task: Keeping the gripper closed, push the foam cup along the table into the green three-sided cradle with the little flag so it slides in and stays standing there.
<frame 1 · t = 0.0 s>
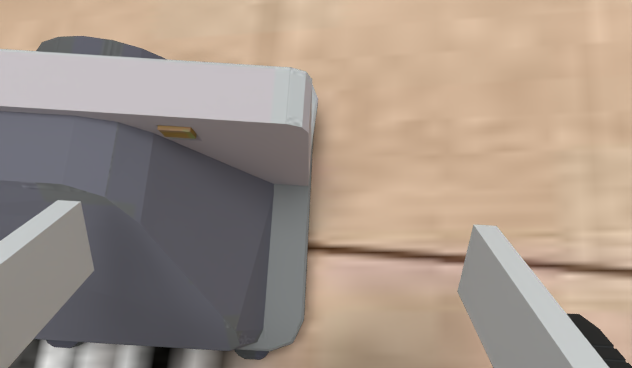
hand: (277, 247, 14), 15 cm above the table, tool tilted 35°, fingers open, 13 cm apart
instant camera: (180, 211, 30), on the table
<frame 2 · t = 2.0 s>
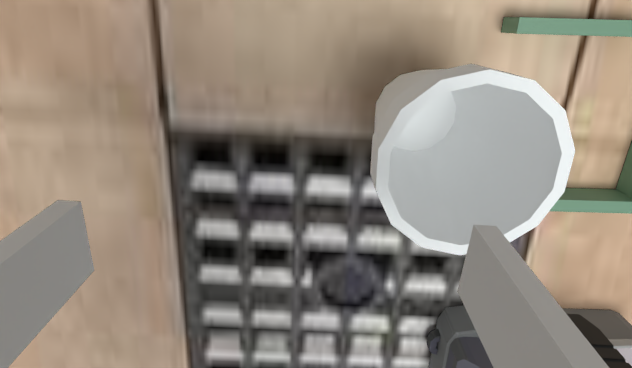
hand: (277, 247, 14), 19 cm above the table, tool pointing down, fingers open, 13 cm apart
foam cup: (414, 111, 32), on the table
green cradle: (568, 116, 31), on the table
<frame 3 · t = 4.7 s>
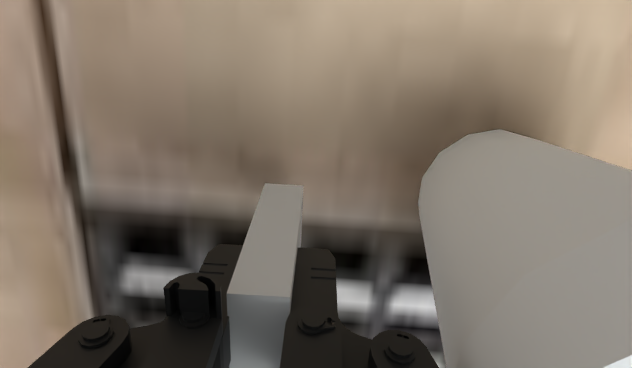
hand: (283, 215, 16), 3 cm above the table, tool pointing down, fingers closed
foam cup: (483, 192, 19), on the table
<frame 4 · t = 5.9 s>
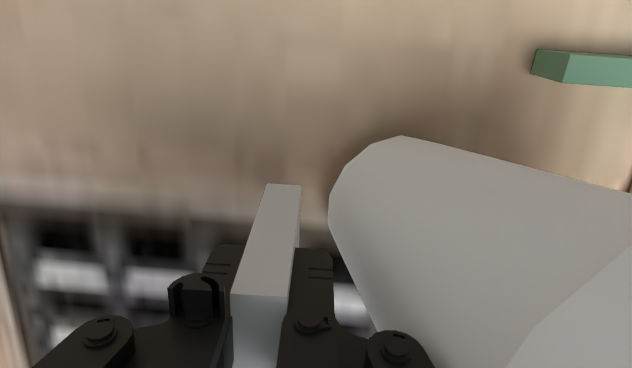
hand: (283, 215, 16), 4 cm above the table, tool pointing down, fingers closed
foam cup: (389, 201, 18), point 1 cm above the table, touching gripper, hand
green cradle: (630, 211, 19), on the table
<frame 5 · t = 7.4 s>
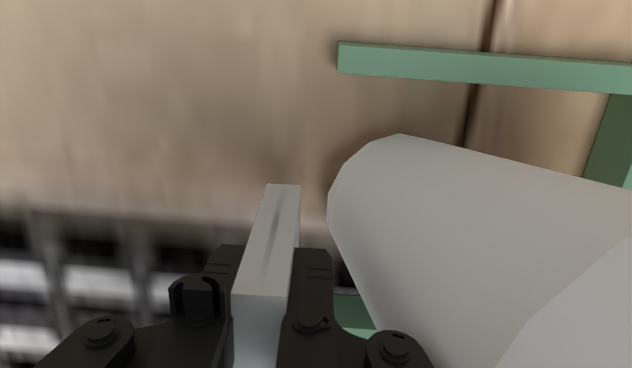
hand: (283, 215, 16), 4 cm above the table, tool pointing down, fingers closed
foam cup: (388, 198, 19), point 1 cm above the table, touching gripper, hand
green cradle: (458, 202, 20), on the table
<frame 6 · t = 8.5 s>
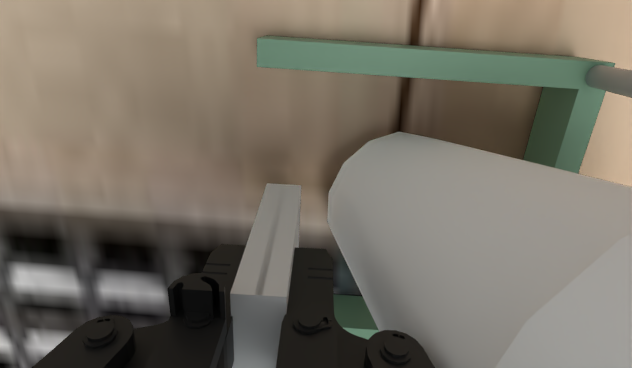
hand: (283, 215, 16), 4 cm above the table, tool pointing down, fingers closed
foam cup: (389, 197, 19), point 1 cm above the table, touching gripper, hand
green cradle: (397, 197, 20), on the table
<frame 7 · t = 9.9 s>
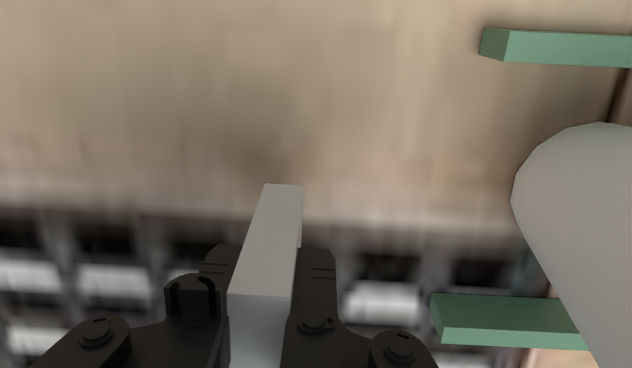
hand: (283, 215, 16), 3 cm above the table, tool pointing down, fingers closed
foam cup: (577, 186, 19), on the table
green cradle: (591, 195, 19), on the table
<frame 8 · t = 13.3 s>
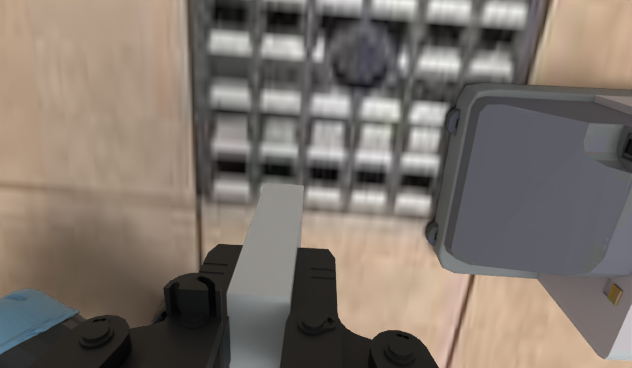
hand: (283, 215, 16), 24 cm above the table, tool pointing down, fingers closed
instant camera: (525, 177, 42), on the table
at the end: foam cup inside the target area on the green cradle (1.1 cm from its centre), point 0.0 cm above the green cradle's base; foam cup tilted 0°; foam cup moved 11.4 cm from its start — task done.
